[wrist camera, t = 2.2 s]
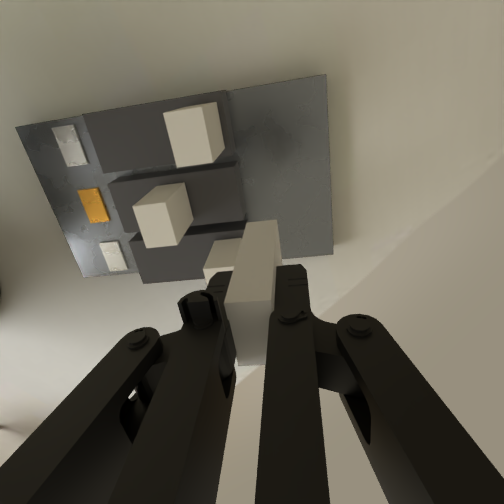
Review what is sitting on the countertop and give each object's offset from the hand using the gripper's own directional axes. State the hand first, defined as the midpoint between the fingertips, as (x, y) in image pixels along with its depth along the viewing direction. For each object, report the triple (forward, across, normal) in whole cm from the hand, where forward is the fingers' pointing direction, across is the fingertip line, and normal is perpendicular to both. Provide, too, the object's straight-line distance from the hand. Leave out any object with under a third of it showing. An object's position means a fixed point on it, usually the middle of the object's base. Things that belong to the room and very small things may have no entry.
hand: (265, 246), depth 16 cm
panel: (+12, -8, 0) cm, 15 cm away
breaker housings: (+11, -8, 0) cm, 13 cm away
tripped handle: (+9, -8, 0) cm, 12 cm away
